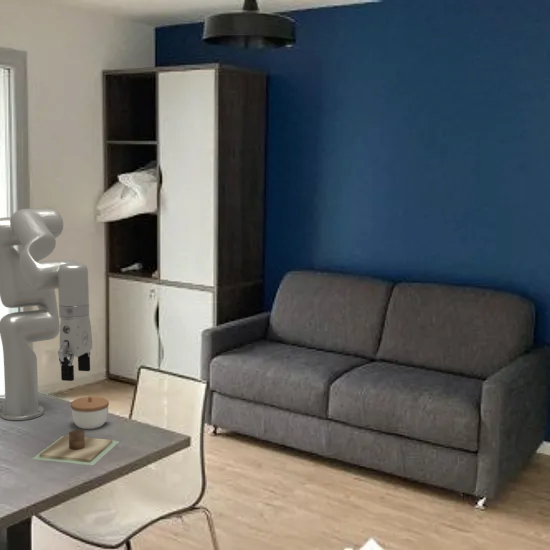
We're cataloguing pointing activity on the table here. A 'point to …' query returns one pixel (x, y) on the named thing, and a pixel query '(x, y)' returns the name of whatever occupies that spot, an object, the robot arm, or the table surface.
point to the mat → (77, 461)
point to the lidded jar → (89, 412)
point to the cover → (76, 447)
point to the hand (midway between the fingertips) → (76, 375)
